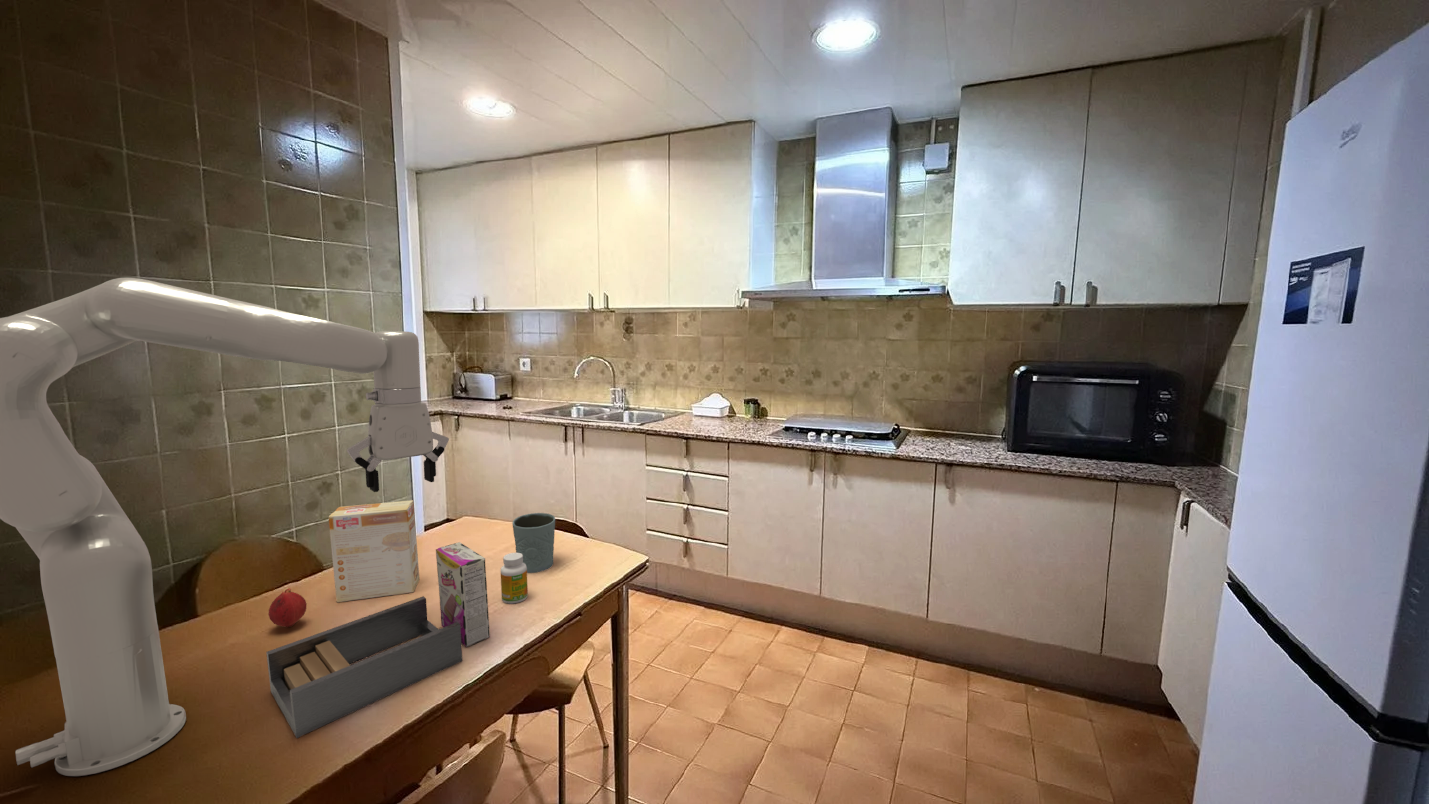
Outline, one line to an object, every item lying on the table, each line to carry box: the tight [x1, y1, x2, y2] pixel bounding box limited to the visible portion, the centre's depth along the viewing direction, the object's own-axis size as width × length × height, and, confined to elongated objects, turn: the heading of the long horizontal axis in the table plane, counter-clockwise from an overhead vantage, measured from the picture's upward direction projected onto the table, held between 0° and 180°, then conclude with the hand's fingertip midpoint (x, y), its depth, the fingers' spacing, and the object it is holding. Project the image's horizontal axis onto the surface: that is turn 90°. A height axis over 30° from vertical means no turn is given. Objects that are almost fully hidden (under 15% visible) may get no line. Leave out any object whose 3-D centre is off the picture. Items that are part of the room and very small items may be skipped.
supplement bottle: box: [500, 552, 529, 605], centre depth 118 cm, size 5×5×10 cm
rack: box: [266, 595, 463, 739], centre depth 91 cm, size 24×15×7 cm, turn 140°
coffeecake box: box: [328, 500, 420, 603], centre depth 120 cm, size 15×7×20 cm, turn 108°
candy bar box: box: [435, 541, 491, 648], centre depth 104 cm, size 11×5×16 cm, turn 49°
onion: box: [268, 587, 308, 628], centre depth 106 cm, size 6×6×8 cm
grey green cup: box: [511, 512, 556, 574], centre depth 134 cm, size 10×10×12 cm
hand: (402, 485), depth 104 cm, fingers open, 9 cm apart
